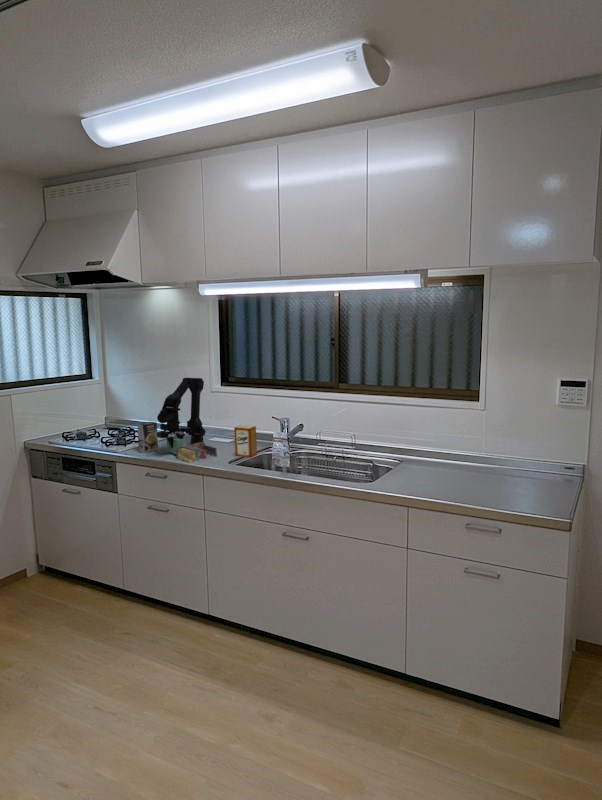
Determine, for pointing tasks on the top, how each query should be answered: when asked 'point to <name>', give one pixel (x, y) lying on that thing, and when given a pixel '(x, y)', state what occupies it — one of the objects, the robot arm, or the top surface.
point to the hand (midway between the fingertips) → (175, 447)
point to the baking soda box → (245, 441)
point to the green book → (174, 445)
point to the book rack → (195, 451)
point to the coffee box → (147, 437)
